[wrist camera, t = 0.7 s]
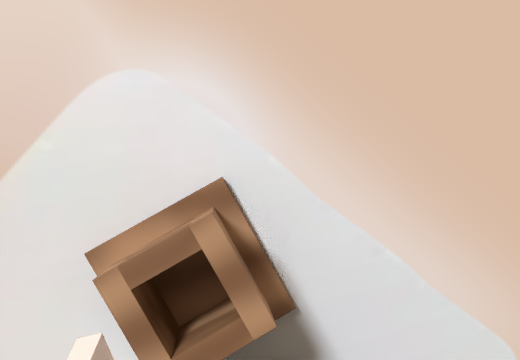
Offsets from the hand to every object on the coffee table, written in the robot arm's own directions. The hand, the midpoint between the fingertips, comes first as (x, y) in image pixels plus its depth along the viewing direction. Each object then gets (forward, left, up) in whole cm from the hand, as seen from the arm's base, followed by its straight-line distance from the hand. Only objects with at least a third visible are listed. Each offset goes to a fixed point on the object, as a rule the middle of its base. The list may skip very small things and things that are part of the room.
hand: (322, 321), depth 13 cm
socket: (-2, +7, -27) cm, 28 cm away
